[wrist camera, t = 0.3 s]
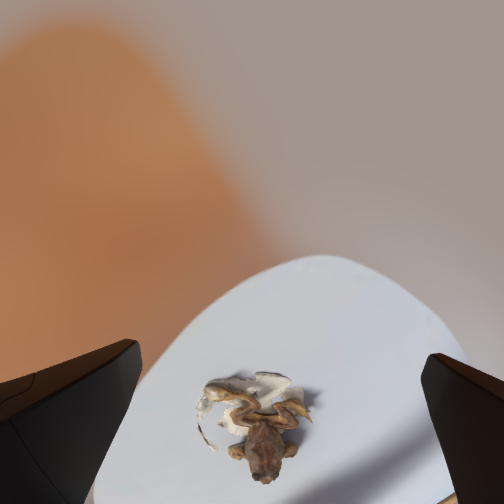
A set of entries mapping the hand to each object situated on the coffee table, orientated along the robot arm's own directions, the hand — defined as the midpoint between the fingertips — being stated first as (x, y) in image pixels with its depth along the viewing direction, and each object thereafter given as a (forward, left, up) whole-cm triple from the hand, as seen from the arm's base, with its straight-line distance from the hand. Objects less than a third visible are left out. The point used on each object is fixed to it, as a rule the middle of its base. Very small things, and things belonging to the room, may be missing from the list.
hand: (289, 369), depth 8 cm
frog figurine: (-10, -7, -16) cm, 20 cm away
